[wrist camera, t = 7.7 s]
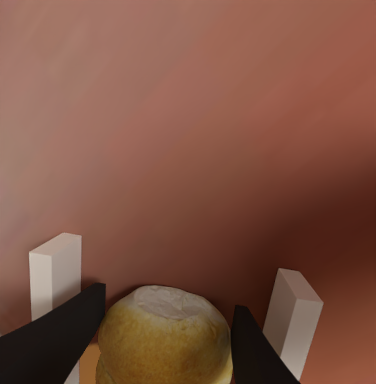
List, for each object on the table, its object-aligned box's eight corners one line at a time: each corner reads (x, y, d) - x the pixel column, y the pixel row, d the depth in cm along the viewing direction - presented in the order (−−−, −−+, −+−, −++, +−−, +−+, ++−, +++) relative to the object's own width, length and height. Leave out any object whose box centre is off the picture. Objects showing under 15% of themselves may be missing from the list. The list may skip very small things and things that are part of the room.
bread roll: (104, 378, 15) (67, 460, 11) (114, 270, 13) (74, 322, 9) (216, 405, 14) (220, 501, 10) (244, 297, 12) (261, 365, 9)
